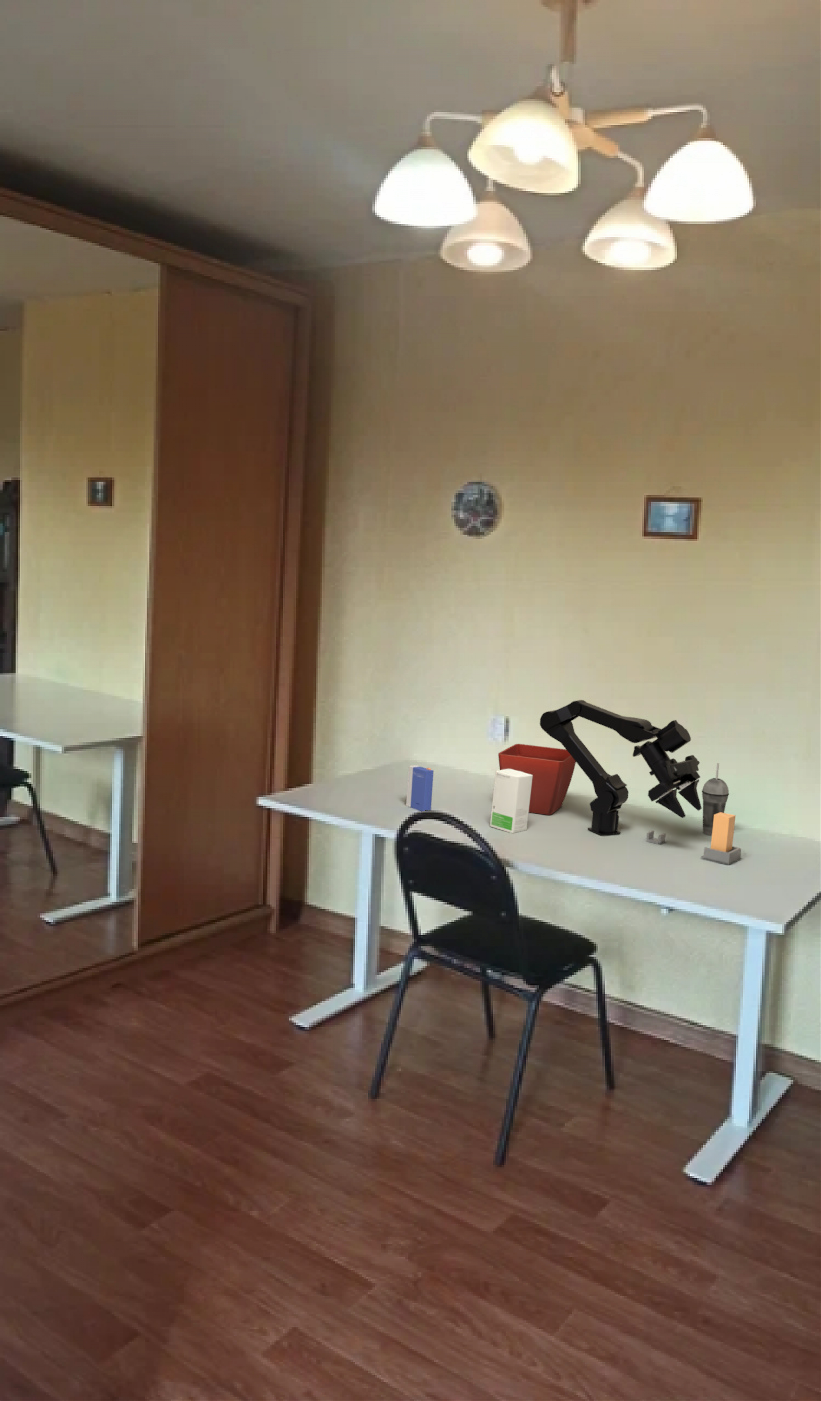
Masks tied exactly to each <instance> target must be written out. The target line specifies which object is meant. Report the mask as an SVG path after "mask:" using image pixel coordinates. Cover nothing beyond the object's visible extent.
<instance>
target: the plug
mask: <svg viewBox="0 0 821 1401" xmlns="http://www.w3.org/2000/svg"><path fill="white" fill-rule="evenodd" d="M735 825H736V815H735V814H732V813H728V812H727V813H725V812H724V813H722V812H720V813H717V814H715V815H714V821H713V830H712V835H711V842H710V848H711V849H715V850H720V851H724V852H730V851H732V846H733V842H734V833H735Z"/></svg>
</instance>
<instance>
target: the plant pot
mask: <svg viewBox="0 0 821 1401" xmlns="http://www.w3.org/2000/svg"><path fill="white" fill-rule="evenodd" d="M497 756H498V764H499V766H498V767H499V770H504V769H513V770H517V771H521V772H524V773H527V774H531V775H533V777H532V786H531V794H530V803H529V812H528V813H531V814H532V813H533V814H540V815H547V816H551V815H552V814H554V813H555V812H557V811H558V810H559V809H560V808H562V806H563V803H564V801H565V799H566V796H567V794H568V790H569V788H570V784H571V781H572V778H573V775H574V771H575V767H576V764H577V762H576V761H575V760H574V759H573V757H572V756H571V755H570V754H569V752H568V751H567V750H566V749H564V748H557V747H550V746H549V747H548V746H541V745H540V746H539V745H532V744H524V743H516V744H513V745H512V746H509V747H507V748H506V749H504V750H502V751H500V752H498V755H497Z"/></svg>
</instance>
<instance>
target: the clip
mask: <svg viewBox="0 0 821 1401" xmlns="http://www.w3.org/2000/svg"><path fill="white" fill-rule="evenodd" d="M666 837H667V834H666V833H661V834H658V838H657V837H655V831H654V830H651V831H647V832H646V839H645V840H646V842H648V843H653V844H656V845H663V844H665V843H666Z"/></svg>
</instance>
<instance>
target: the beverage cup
mask: <svg viewBox="0 0 821 1401" xmlns="http://www.w3.org/2000/svg"><path fill="white" fill-rule="evenodd" d="M719 767H720V763H716V770H715V777H713V778H710V779H708V780H707V781H706V782H705V783H704V784H703V786H702V789H701V793H702V794H701V795H702V796H701V797H702V833H703V834H704V835H707V836H712V830H713V821H714V815H715V814H717V813H720V812H722V813H725V811H726V805H727V802H728V798H729V795H730V792H729V787H728V784H727V783H726V782H725V781H724V780H723V779H721V778H719V770H720V768H719Z"/></svg>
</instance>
